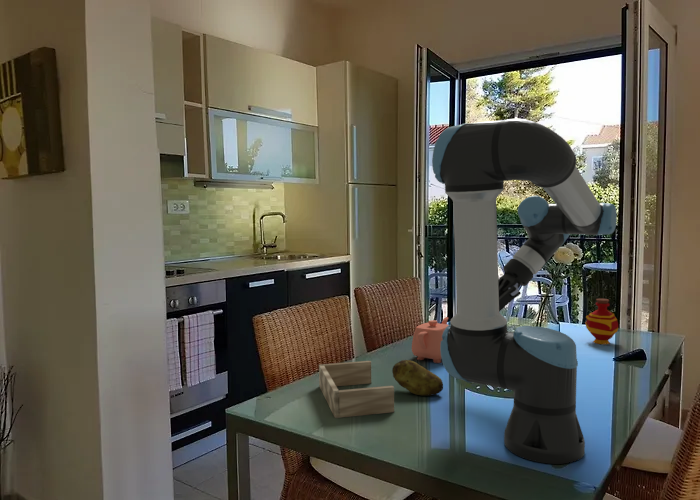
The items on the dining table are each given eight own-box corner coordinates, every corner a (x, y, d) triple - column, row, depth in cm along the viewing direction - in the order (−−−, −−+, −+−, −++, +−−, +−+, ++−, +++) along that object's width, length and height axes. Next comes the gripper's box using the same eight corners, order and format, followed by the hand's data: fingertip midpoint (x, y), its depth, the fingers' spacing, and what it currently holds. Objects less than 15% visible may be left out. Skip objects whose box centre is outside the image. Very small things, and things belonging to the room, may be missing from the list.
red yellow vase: (619, 340, 189) (620, 298, 187) (616, 347, 180) (617, 303, 179) (587, 337, 194) (588, 296, 193) (582, 343, 186) (583, 300, 184)
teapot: (437, 368, 160) (437, 328, 159) (402, 362, 167) (401, 324, 166) (464, 352, 177) (464, 316, 176) (431, 347, 184) (430, 312, 182)
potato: (427, 403, 133) (427, 371, 132) (387, 391, 142) (387, 361, 141) (446, 394, 139) (446, 363, 138) (407, 383, 148) (407, 354, 147)
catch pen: (394, 412, 127) (394, 387, 127) (334, 418, 124) (334, 392, 124) (370, 381, 149) (370, 360, 149) (319, 386, 146) (318, 364, 146)
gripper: (545, 279, 139) (485, 348, 137) (519, 272, 152) (464, 335, 150) (527, 259, 137) (465, 329, 135) (502, 254, 150) (445, 318, 148)
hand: (465, 332), depth 143 cm, fingers closed
